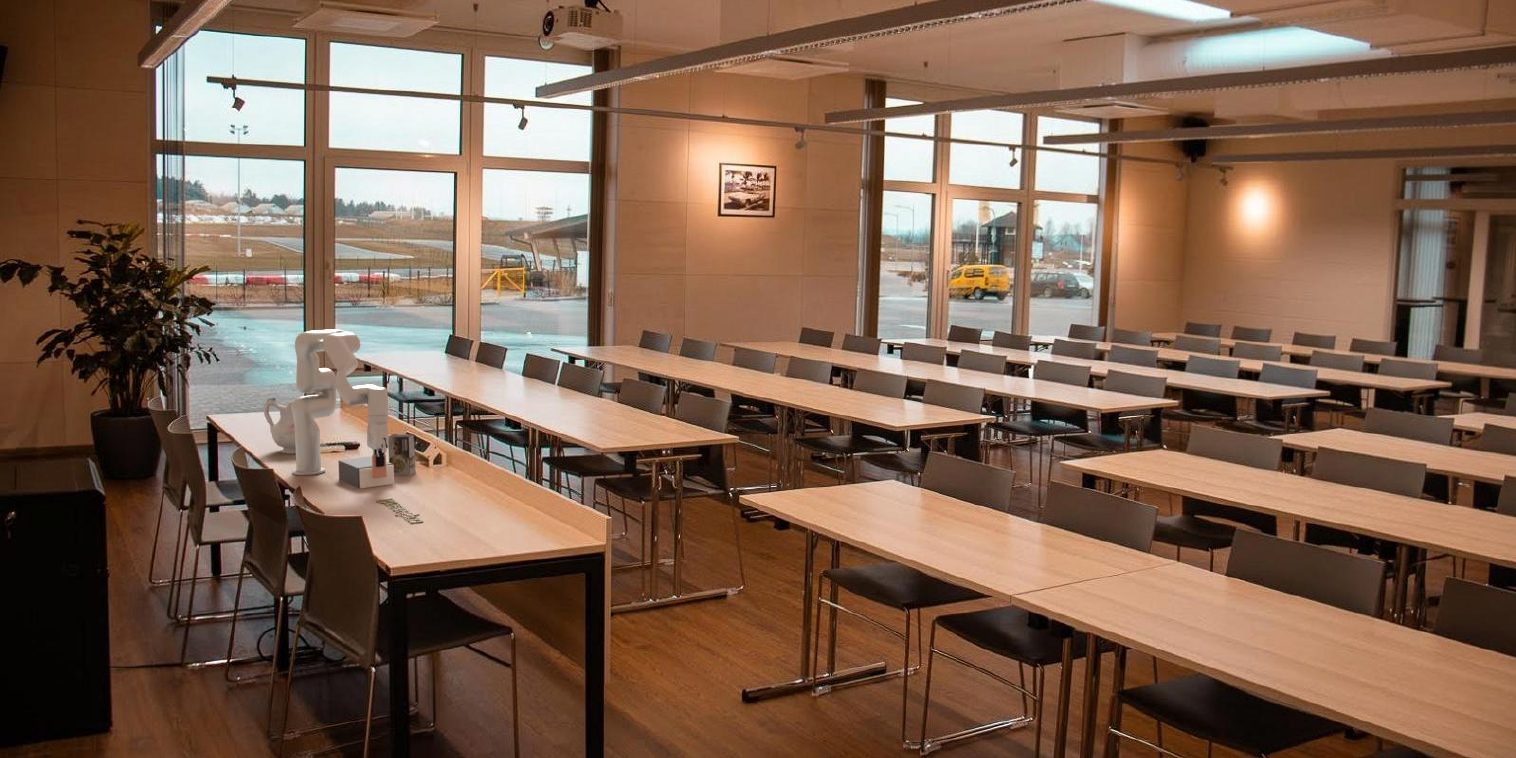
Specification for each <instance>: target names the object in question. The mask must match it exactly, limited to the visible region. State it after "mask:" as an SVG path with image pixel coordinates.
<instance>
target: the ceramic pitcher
mask: <svg viewBox="0 0 1516 758" xmlns="http://www.w3.org/2000/svg"><path fill="white" fill-rule="evenodd" d="M276 399H277V398H275V397H269V398H267V400H266V402H265V403H264V406H263V414H264V417H265V419H266V422H267V423H268V425H269V428H270V429H269V430H270V433H271V438H272V440H273V443H275V444H276V445H277V446H278V447H280V448H283V449H282V450H281V451H280V453H282V452H283V453H282V454H289V455H291V454H296V445H295V426H294V419H293V414H292V410H291V405H292V402H293V401H294V400H291V401H289V402H288V403H286V405H283V404H279V403H278V402H277V401H276ZM270 407H275V408H276V409H277V410H279V415H280V416H279V417H280V418H279V420H278V421H277V422H276V423H274V420H273V419H272V416H271V414H270Z"/></svg>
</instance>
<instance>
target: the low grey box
mask: <svg viewBox="0 0 1516 758" xmlns="http://www.w3.org/2000/svg"><path fill="white" fill-rule="evenodd" d="M337 463H338V480H339V481H340V482H343V483H345V484H348V485H349V486H352V487H354V488H357V489H361V488H360V475H359V469H365V468H372V455H370V456H364V457H357V458H356V457H355V458H347V459H340V460H338V462H337ZM389 465H392V463H389V461H386V466H389Z"/></svg>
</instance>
